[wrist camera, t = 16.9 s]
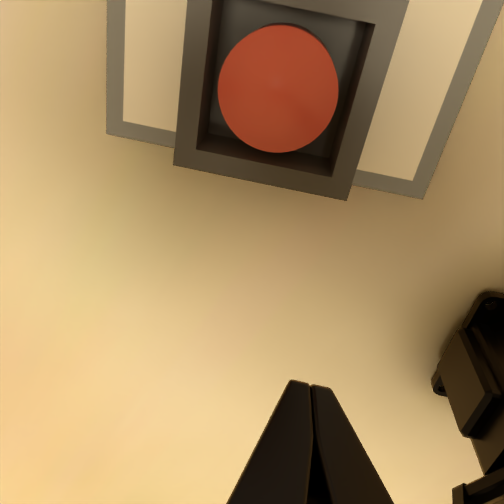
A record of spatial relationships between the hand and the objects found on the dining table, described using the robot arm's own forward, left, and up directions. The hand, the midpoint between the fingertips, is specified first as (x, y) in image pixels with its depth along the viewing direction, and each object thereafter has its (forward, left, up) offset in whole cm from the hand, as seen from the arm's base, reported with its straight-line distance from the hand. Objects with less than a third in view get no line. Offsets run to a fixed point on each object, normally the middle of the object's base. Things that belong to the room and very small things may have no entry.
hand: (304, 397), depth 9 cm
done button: (+2, -4, -10) cm, 11 cm away
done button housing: (+2, -4, -11) cm, 12 cm away
